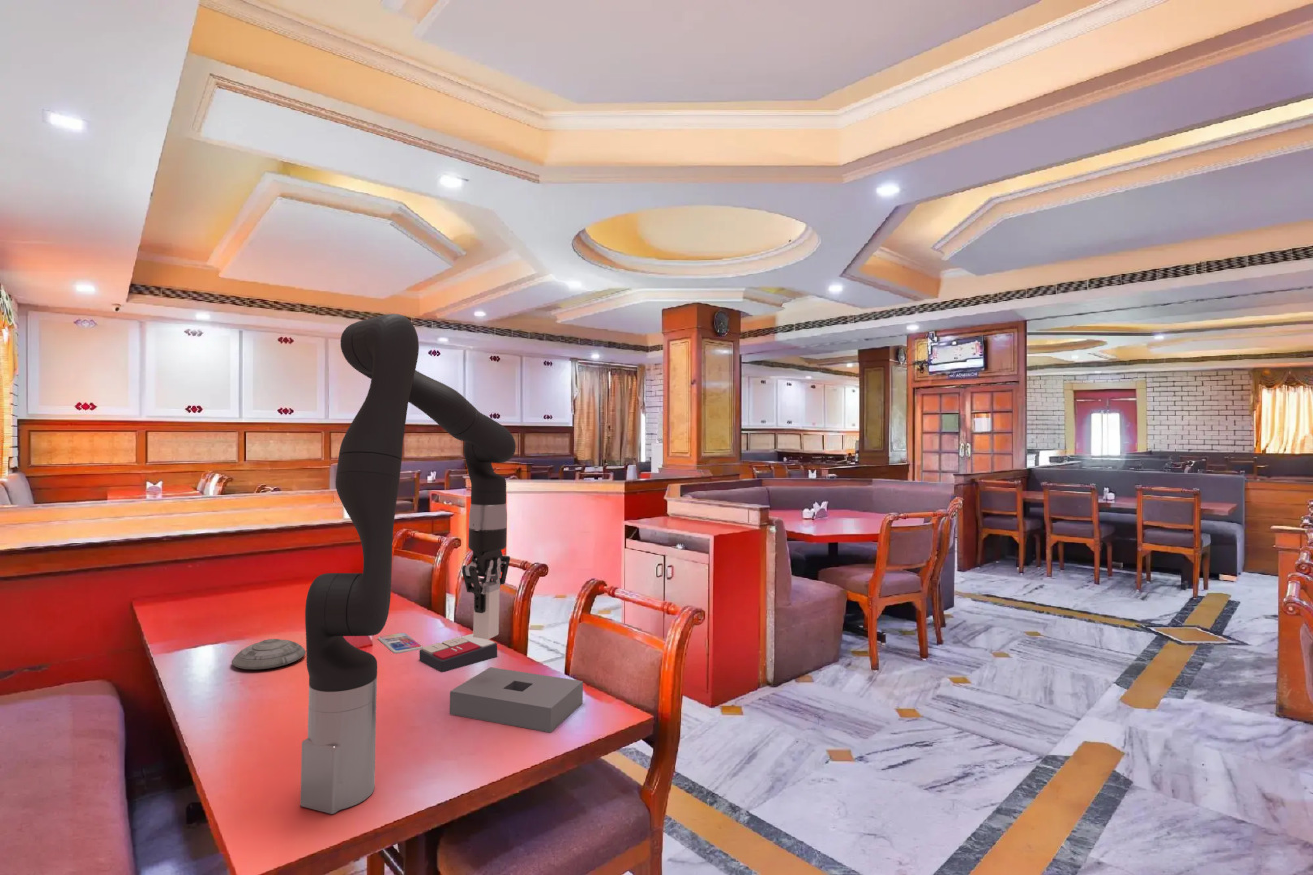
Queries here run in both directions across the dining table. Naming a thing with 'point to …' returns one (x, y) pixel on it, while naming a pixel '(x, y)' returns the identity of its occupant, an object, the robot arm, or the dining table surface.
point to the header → (517, 699)
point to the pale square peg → (488, 614)
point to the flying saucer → (268, 654)
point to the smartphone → (400, 643)
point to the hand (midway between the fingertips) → (486, 609)
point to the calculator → (458, 652)
